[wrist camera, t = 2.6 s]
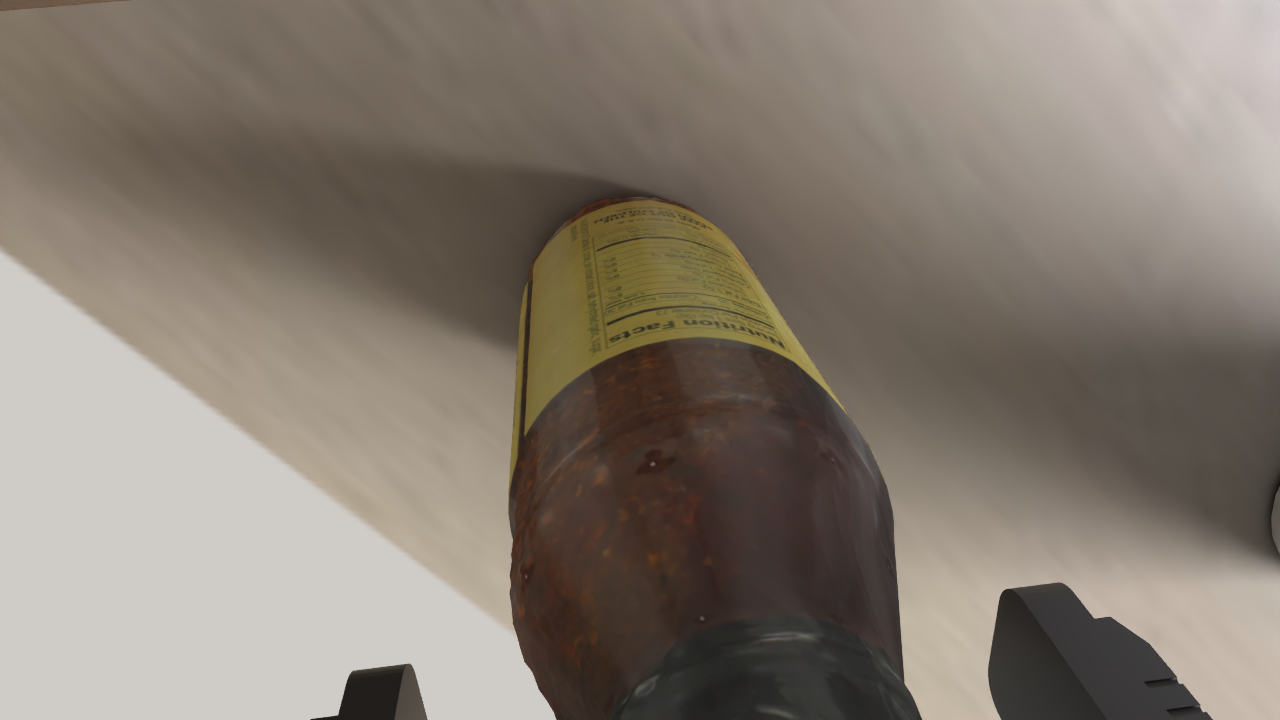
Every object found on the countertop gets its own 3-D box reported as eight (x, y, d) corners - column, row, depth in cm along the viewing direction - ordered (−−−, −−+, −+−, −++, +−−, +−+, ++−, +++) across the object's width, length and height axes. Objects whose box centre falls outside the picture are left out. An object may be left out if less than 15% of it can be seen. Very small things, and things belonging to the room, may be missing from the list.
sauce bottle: (678, 415, 26) (932, 1425, 9) (487, 338, 25) (314, 1403, 7) (789, 229, 24) (1455, 1104, 6) (585, 130, 22) (707, 951, 4)
